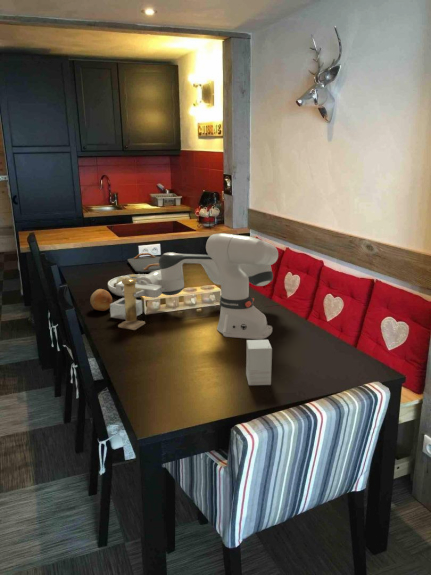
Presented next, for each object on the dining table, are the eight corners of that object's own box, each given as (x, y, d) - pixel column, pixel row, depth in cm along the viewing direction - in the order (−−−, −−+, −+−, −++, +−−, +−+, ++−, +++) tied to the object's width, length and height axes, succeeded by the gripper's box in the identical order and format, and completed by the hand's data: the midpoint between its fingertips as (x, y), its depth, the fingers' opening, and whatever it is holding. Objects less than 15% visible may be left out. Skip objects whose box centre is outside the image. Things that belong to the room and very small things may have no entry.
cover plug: (141, 317, 203) (139, 278, 198) (133, 322, 198) (131, 282, 193) (129, 316, 205) (127, 277, 201) (121, 320, 200) (118, 281, 195)
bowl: (98, 297, 241) (97, 282, 239) (123, 281, 269) (122, 267, 267) (154, 301, 234) (154, 286, 232) (174, 284, 262) (174, 270, 260)
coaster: (145, 323, 204) (145, 321, 204) (134, 330, 197) (134, 327, 197) (128, 321, 207) (128, 318, 207) (118, 327, 200) (118, 324, 200)
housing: (142, 313, 217) (141, 300, 215) (130, 320, 208) (129, 307, 206) (123, 310, 221) (122, 297, 219) (110, 317, 212) (109, 304, 210)
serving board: (175, 273, 285) (175, 263, 283) (136, 277, 278) (136, 266, 276) (160, 259, 320) (160, 250, 318) (125, 262, 313) (125, 253, 311)
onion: (86, 311, 219) (84, 290, 216) (100, 305, 227) (99, 285, 224) (103, 315, 214) (101, 293, 211) (117, 308, 223) (116, 288, 220)
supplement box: (267, 374, 159) (269, 339, 155) (271, 385, 152) (272, 348, 148) (245, 375, 159) (246, 339, 155) (247, 385, 152) (248, 348, 148)
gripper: (167, 295, 207) (151, 304, 195) (127, 290, 215) (108, 298, 202) (167, 281, 205) (150, 289, 193) (126, 276, 213) (107, 284, 201)
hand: (128, 294), depth 198 cm, fingers closed on cover plug, 5 cm apart
